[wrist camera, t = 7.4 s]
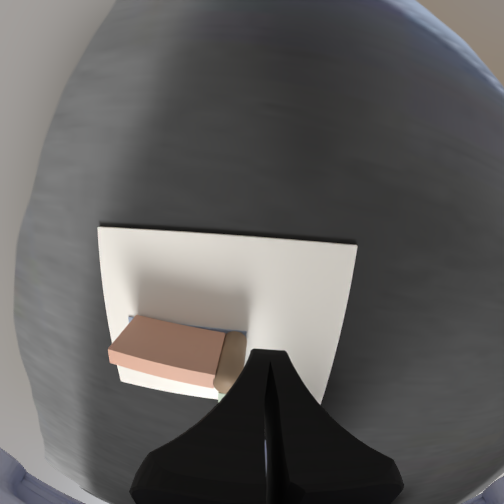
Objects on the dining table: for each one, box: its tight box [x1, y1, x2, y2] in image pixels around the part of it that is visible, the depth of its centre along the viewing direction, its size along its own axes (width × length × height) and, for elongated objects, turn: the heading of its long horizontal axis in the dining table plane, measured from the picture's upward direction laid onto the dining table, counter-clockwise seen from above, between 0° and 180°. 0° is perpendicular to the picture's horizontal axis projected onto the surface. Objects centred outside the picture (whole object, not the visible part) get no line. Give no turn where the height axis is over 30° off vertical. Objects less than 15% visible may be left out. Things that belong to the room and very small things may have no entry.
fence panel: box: [108, 315, 247, 394], centre depth 19 cm, size 9×2×5 cm, turn 82°
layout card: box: [98, 226, 357, 405], centre depth 21 cm, size 15×19×1 cm
